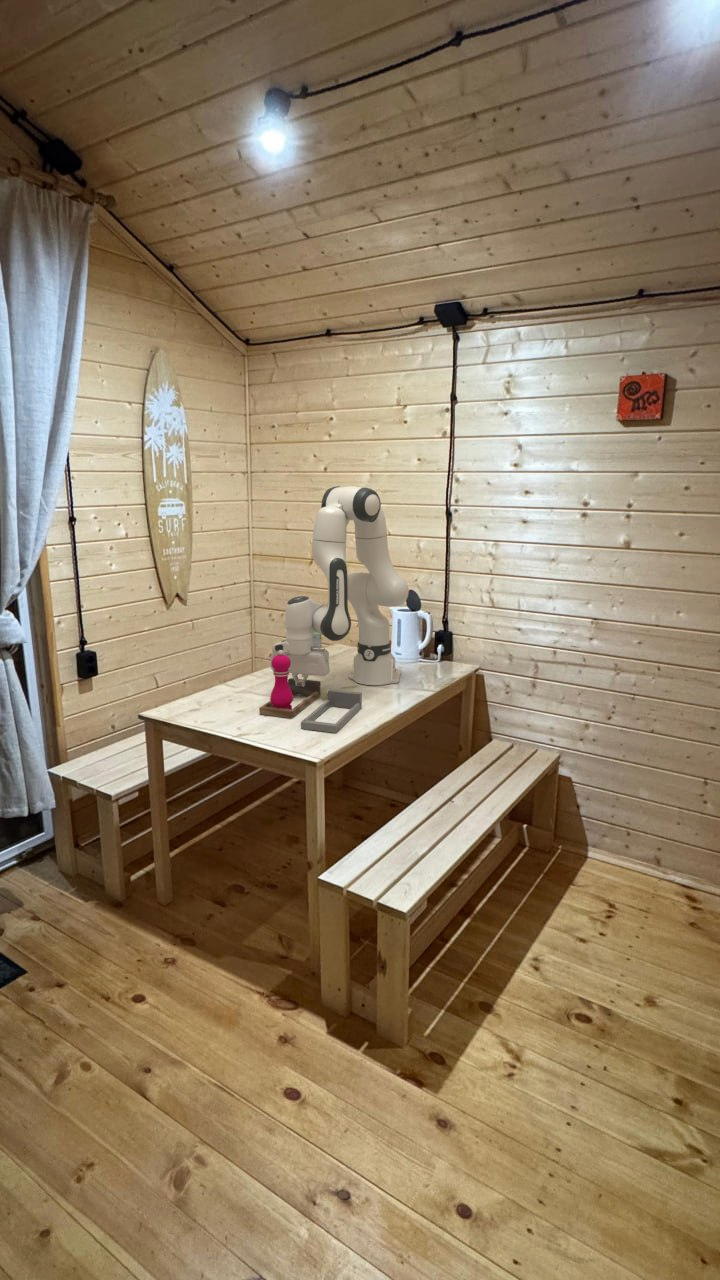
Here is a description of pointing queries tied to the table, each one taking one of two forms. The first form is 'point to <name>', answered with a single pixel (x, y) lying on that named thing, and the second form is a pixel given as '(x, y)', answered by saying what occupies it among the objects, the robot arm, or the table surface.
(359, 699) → the grey open rectangular frame
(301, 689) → the brown wooden rectangular frame
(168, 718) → the table surface
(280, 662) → the pepper mill
